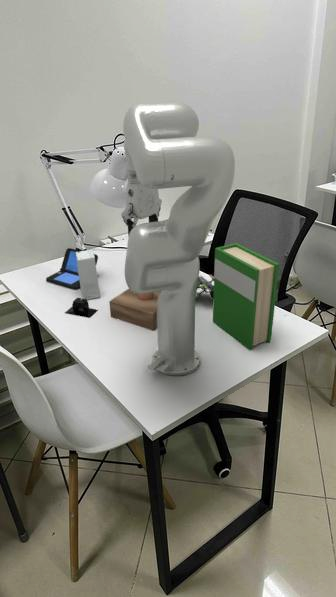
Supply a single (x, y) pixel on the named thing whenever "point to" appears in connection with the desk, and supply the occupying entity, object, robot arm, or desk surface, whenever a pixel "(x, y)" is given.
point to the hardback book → (244, 294)
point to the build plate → (81, 308)
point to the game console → (68, 271)
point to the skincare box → (87, 274)
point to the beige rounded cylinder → (145, 296)
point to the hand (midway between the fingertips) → (143, 234)
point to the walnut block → (135, 309)
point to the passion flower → (205, 286)
